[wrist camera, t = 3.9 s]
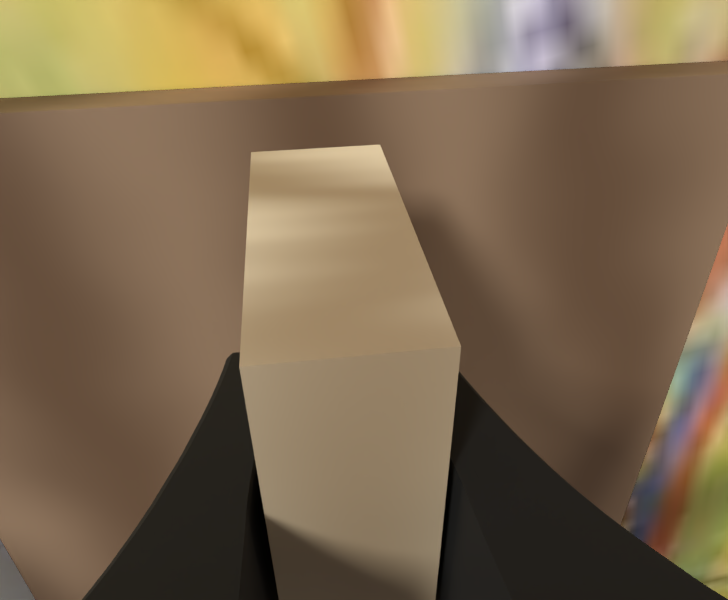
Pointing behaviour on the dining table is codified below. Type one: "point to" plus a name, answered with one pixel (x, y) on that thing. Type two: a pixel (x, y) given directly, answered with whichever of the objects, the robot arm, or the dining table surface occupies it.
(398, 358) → the beige long rectangular bar
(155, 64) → the dining table surface
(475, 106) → the board
